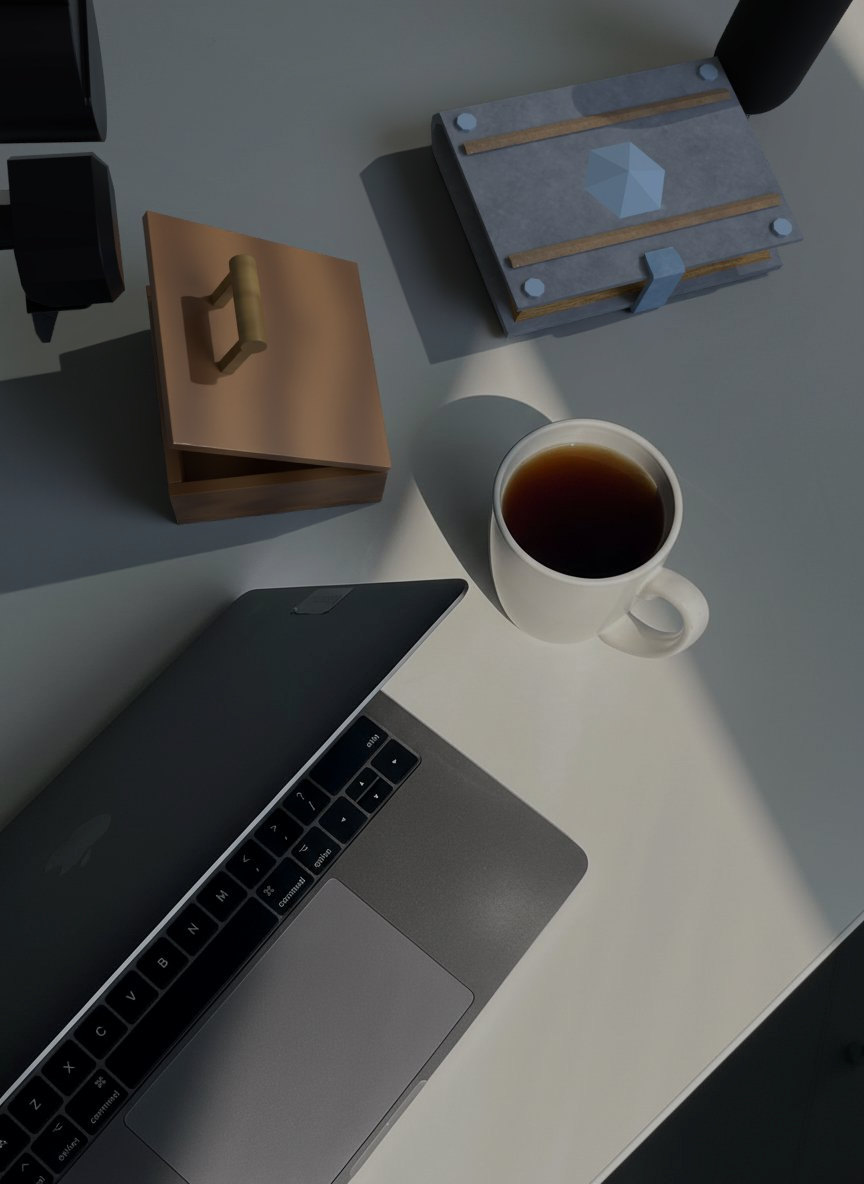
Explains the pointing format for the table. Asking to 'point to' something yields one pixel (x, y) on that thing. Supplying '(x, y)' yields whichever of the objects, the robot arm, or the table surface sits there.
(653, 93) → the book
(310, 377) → the lid
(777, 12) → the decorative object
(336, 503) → the chest
